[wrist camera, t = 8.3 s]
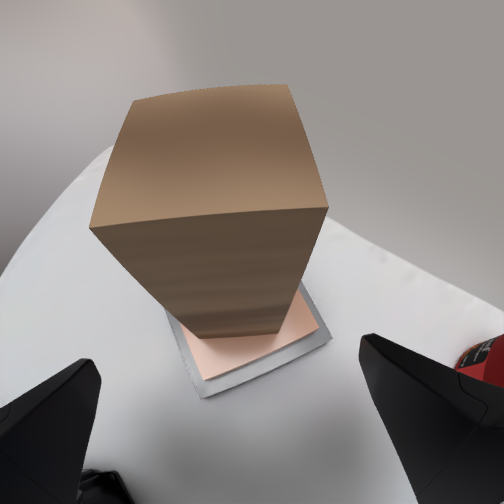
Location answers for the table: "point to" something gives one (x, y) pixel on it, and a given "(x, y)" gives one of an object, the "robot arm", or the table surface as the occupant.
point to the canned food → (485, 361)
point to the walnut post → (214, 206)
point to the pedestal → (250, 348)
